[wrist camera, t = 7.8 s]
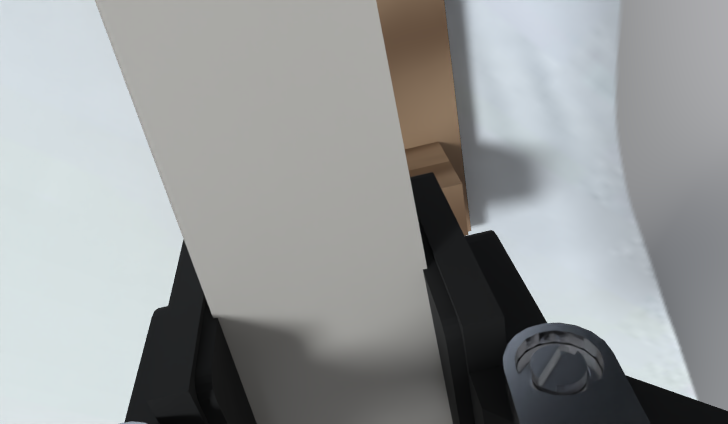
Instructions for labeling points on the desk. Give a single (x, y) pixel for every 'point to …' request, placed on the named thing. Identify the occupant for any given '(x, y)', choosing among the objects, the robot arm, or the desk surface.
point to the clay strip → (291, 199)
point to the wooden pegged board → (426, 94)
